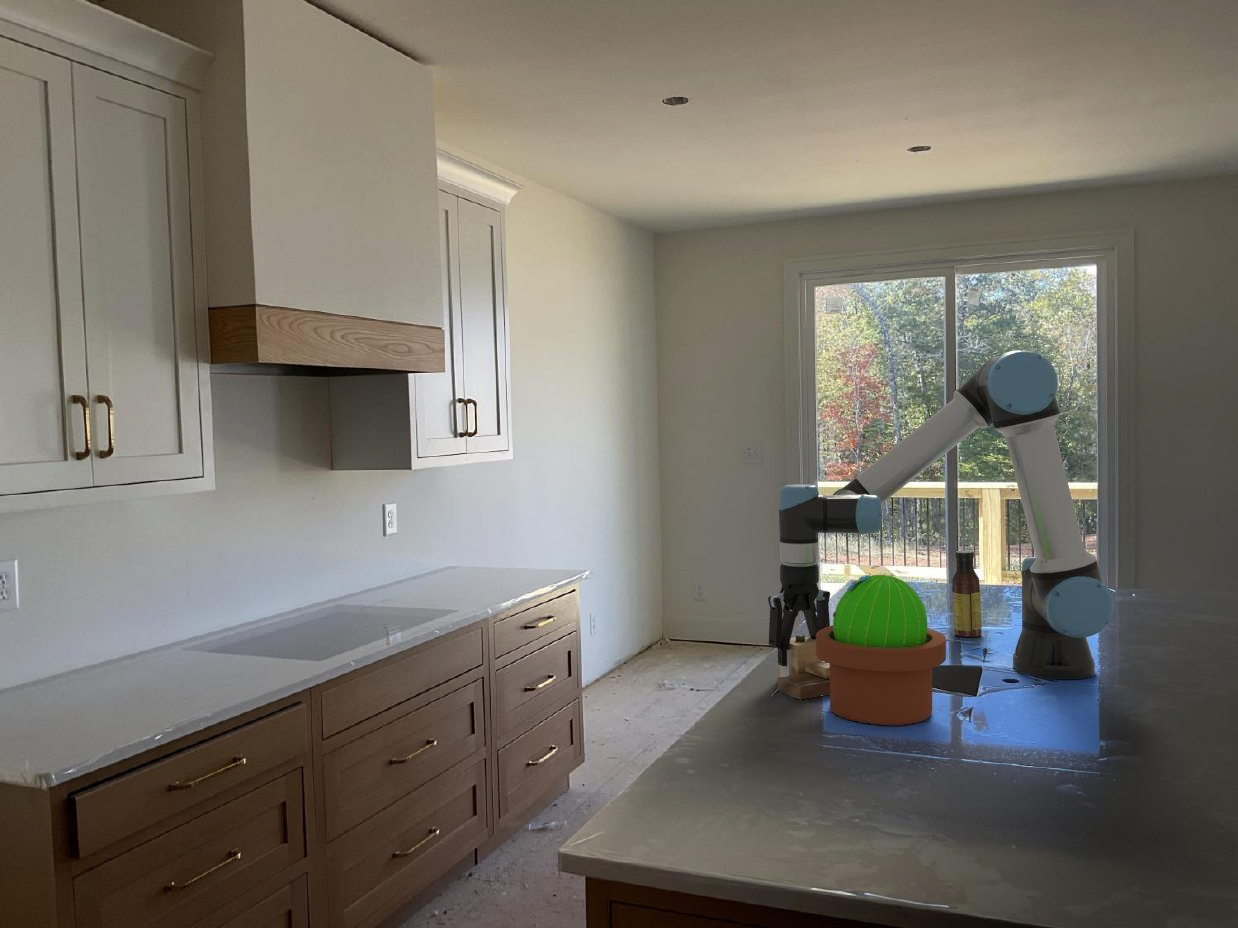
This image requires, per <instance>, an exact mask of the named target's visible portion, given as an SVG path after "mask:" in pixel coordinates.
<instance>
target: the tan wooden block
mask: <svg viewBox="0 0 1238 928" xmlns="http://www.w3.org/2000/svg"><path fill="white" fill-rule="evenodd" d="M788 649H790V650H792V675H798V674H804V673H811V674H814V675H817V676H820V677H823V678H825V679H828V678H830V664H829V663H826V662H824V661H822V660H820V659H819V658H818V657H817V656H816V640H814V639H811V638H810V637H806V635H804V634H796V635H795V637H791V639H790V643H789V647H788ZM778 665H779V664H778ZM778 667H779V669H778V670H779V672H778V674H779V677H778V678H780V677H781V665H779V666H778Z"/></svg>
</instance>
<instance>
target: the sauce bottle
mask: <svg viewBox="0 0 1238 928" xmlns="http://www.w3.org/2000/svg"><path fill="white" fill-rule="evenodd" d="M974 557H975V552H974V551H973V550H969V549H968V550H965V549H963V550H962V549H960V550H957V551H955V558H956V568H955V569H956V571H955V573H954V574H953V577H952V590H951V591H952V613H953V614H952V618H953V628H954V629H953V630H954V634H955V635H956V636H959V637H962V638H978V637H980V636H981V635H982V628H983V623H982V622H983V621H982V619H983V618H982V601H981V589H980V588H981V587H980V577H979V576H978V574H977V573H976V571H975V567H974Z"/></svg>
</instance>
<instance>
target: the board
mask: <svg viewBox="0 0 1238 928" xmlns="http://www.w3.org/2000/svg"><path fill="white" fill-rule="evenodd" d="M779 691H780V693H782V694H784V695H787V696H789V695H790V696H789V697H791V696H793V697H792V698H794V697H795V699H796V698H798V699H797V700H799V699H800V700H799V701H802V699H804V700H807V699H806V698H809V699H813V698H812V697H814V698H817V697H816V696H820V697H822V696H821V695H825V696H830V678H828V679H825V678H823V677H820V676H817V675H814V674H811V673H804V674H798V675H792V676H786V677H780V678H779V677H777V692H779Z"/></svg>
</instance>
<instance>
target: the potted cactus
mask: <svg viewBox="0 0 1238 928" xmlns="http://www.w3.org/2000/svg"><path fill="white" fill-rule="evenodd" d="M869 574H870V575H869ZM869 574H866V575H863V576H861V577H858V579H857V580H854V581H853V582H851V584H849V587H847V588H845V590H846V591H845V592H844V593H843V592H841V594H842V596H841V597H839V600H838V603H837V604H836V608H835V611H833V614H832V617H833V621H832V625H830V626H828V627H825V628H823V629H821V630H819V631H818V632H817V634H816V656H817V657H818V658H819V659H820V660H822V662H825V663H828V664H830V695H829V706H830V707H829V708H830V710H831V712H832V713H834V715H836V716H838V717H840V718H843V719H845V720H848V719H849V720H850V721H852V720H853V722H856V721H857V723H861V722H862V723H861V724H867V723H872V724H871V725H876V724H883V725H882V726H905V725H904V724H908V725H913V724H912V723H914V724H917V723H921V722H923V721H925V720H927V719H928V718H929V717H930V716H931V715H932V713H933V668H936V667H938V666H941V665H942V664H943V663H945V661H946V659H947V638H946V636H945V635H944V634H943V633H941V632H940V631H938V630H934V629H932V628H928V617H931V615H929V614H928V612H927V611H926V607H925V605H924V602H923V601H922V597H923V595H921V596H920V595H919V593H918V590H919V589H916V590H915V588H913V587H912V586H910V585H909V584H908V583H907V582H905V581H904V578H902V579H900V578H898V577H896V575H895V576H894V574H890V575H887V574H885V573H883V574H882V573H881V571H880V574H873V575H872V574H871V573H869ZM849 720H848V721H849Z"/></svg>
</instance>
